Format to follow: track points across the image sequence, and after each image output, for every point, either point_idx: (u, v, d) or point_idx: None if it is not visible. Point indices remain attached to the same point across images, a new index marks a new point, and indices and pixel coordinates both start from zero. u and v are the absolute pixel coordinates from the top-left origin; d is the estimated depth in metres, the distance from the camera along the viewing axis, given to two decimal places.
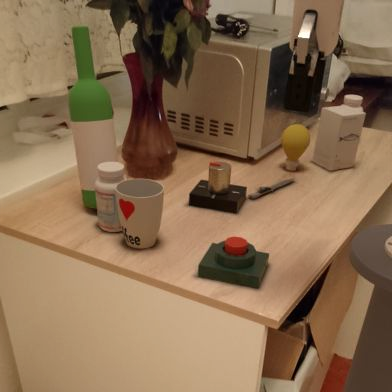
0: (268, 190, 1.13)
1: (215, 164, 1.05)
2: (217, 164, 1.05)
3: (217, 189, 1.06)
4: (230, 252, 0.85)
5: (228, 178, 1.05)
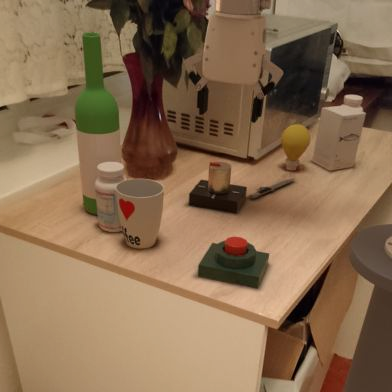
0: (268, 190, 1.13)
1: (215, 164, 1.05)
2: (217, 164, 1.05)
3: (217, 189, 1.06)
4: (230, 252, 0.85)
5: (228, 178, 1.05)
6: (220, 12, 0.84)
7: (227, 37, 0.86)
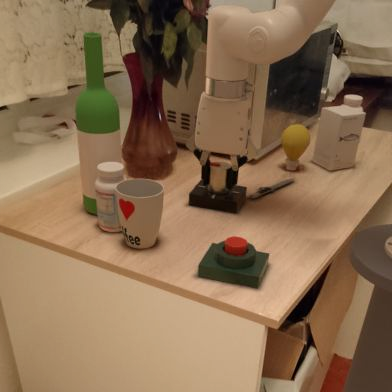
0: (268, 190, 1.13)
1: (215, 164, 1.05)
2: (217, 164, 1.05)
3: (217, 189, 1.06)
4: (230, 252, 0.85)
5: None
6: (209, 95, 0.95)
7: (216, 115, 0.97)
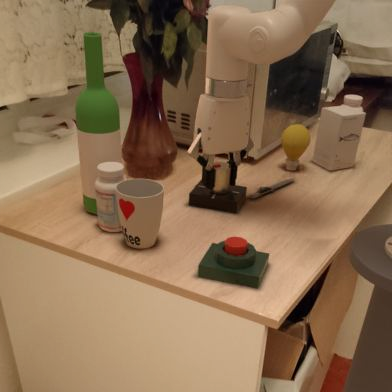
0: (268, 190, 1.13)
1: (217, 165, 1.04)
2: (218, 165, 1.04)
3: (225, 188, 1.06)
4: (230, 252, 0.85)
5: None
6: (223, 98, 0.94)
7: (227, 116, 0.97)
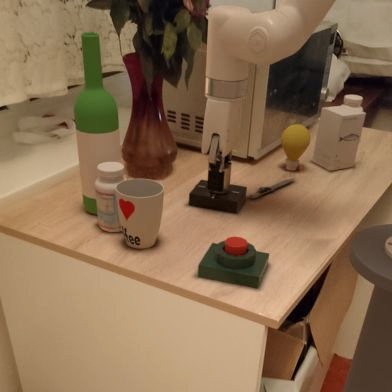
0: (268, 190, 1.13)
1: None
2: None
3: (229, 186, 1.07)
4: (230, 252, 0.85)
5: None
6: (238, 97, 0.94)
7: (236, 115, 0.98)
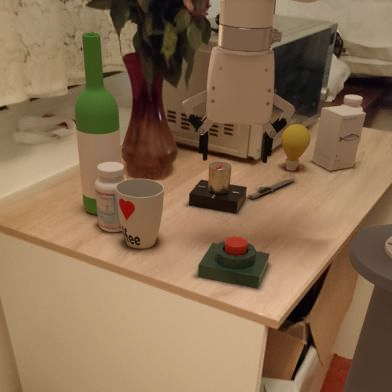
0: (268, 190, 1.13)
1: (220, 166, 1.04)
2: (220, 165, 1.04)
3: (229, 186, 1.07)
4: (230, 252, 0.85)
5: None
6: (230, 49, 0.74)
7: (238, 75, 0.77)
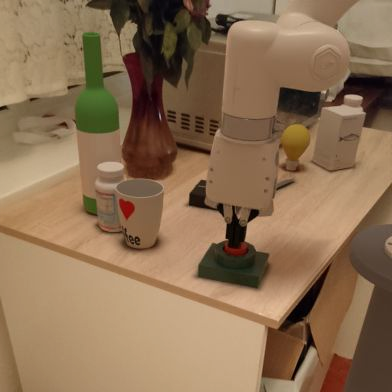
0: None
1: None
2: None
3: None
4: None
5: None
6: (226, 136, 0.73)
7: (235, 161, 0.75)
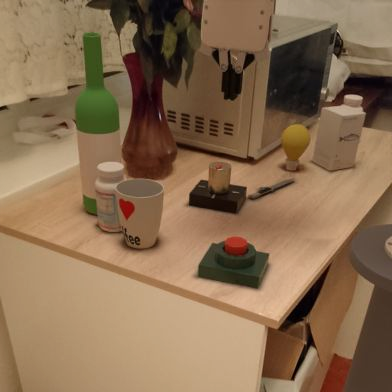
0: (268, 190, 1.13)
1: (220, 166, 1.04)
2: (220, 165, 1.04)
3: (229, 186, 1.07)
4: (230, 252, 0.85)
5: None
6: None
7: None
